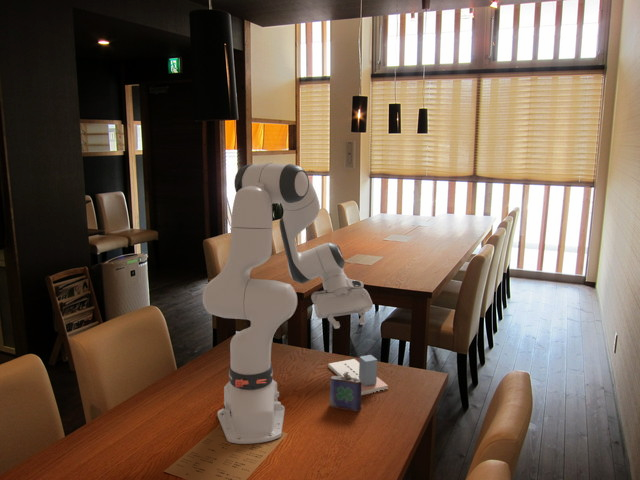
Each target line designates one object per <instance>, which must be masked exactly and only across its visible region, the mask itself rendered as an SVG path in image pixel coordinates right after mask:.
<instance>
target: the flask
mask: <svg viewBox="0 0 640 480" xmlns="http://www.w3.org/2000/svg"><path fill="white" fill-rule="evenodd" d="M348 373H349V372H345V373H344V374H343V375H344V377H342V376H338V375H332V376H331V377H330V379H329V383H330V384H329V385H330V387H329V388H330V389H329V406H330V407H331V408H335V409H340V410H341V409H342V410H348V411H354V412H359V411H361V409H362V395H361V385H362V384H361V380H360V379H357V378H352V377H351V376H350V375H348Z"/></svg>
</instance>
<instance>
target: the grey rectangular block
mask: <svg viewBox="0 0 640 480" xmlns="http://www.w3.org/2000/svg"><path fill="white" fill-rule="evenodd" d="M358 360H359V361H358V362H359V379H360V380H361V383H362V384H363V385H365V386H368V385H372V384H376V381H377V377H378V376H377V375H378V359H377V358H376V357H375V356H373V355H372V354H368V355H361V356H359V359H358Z"/></svg>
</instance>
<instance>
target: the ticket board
mask: <svg viewBox="0 0 640 480" xmlns="http://www.w3.org/2000/svg"><path fill="white" fill-rule="evenodd" d="M327 367H328V368H329V369H330V371H332V372H334V374H335V375H336V376H342V377H344V375H343V374H344V373H345V372H349V373H348V375H350V376H351V377H352V378H357V379H359V361H358V360H357V359H356V358H351V359H346V360H345V359H344V360H342V361H341V360H340V361H334V362H330V363H328V366H327ZM361 384H362V383H361ZM384 389H389V385H388V384H387V383H386V382H384V381H383V380H382V379H381V378H380V377H378V376H377V381H376V384H372V385H368V386H365V385H363V384H362V385H361V396H363V395H368V394H373V392H374V393H377V392H376V391H378V392H381V391H380V390H383V391H385V390H384Z"/></svg>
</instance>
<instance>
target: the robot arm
mask: <svg viewBox="0 0 640 480" xmlns="http://www.w3.org/2000/svg"><path fill="white" fill-rule="evenodd" d="M233 183H234V190H235V192H236V193H235V196H234V199H233V206H232V210H231V211H232V212H231V221H230V241H229V252H228V257H227V260H226V263H225V265H224V267H223V268H222V269H221V271H220V272H219V274H217V275H216V276H215V277H213V279H211V280H210V281H208V283H207V284H206V285H205V287H204V289H203V292H202V304H203V307H204V309H205V310H206V312H207V313H208V314H210V315H213V316H216V317H220V318H223V319H235V320H238V319H239V320H247V321H250V326H249V327H247V328H244V329H242V330H240V331H239V332H237V333H235V334H234V335H233V337H232V338H231V340H230V344H229V345H230V346H229V347H230V348H229V349H230V357H229V358H230V365H229V367H228V380H229V381H228V382H227V383H226V384H225V385H224V387H223V395H224V396H223V408H221V409H219V410H218V411H217V415H216V416H217V418H218V421H219V424H220V426H221V428H222V431H223V433H224V436H225V438H226V440H227V442H229V443H232V444H238V445H239V444H241V445H242V444H243V445H246V444H260V443H266V442H270V441H273V440H274V441H275V440H276V439H280V438H281V436H282V433H283V426H284V418H285V411H286V409H285V406H284V405H283V404H282V402H281V401H278V397H280V391H278V382H277V381H276V380H274V378H273V377H274V376H273V374H274V371H273V370H274V369H273V364H272V361H271V359H272V344H273V338H274V335H275V333H276V331H277V329H278V328H280V326H281V325H282V324H283V323H284V322H286V321H287V320H289V319H290V318H291V317H292V316H293V315H294V314H295V312H296V309H297V306H298V295H297V292H296V290H295V289H294V287H293V286H292V284H290V283H288V282H287V283H286V282H283V281H278V280H275V279H261V278H260V279H259V278H258V279H257V278H256V279H255V278H250V276H251V272H252V270H253V269H254V268H257V267H259V266H261V265H264V264H265V263H266V262H267V261H269V260H270V258H271V256H272V251H273V210H272V209H273V207H272V205H273V204H281V207H282V209H283V215H282V216H281V218H280V219H279V229H280V233H281V235H280V236H281V240H282V243H283V248H284V252H285V255H286V259H287V269H288V273H289V276H290V278H291V280H293V281H294V282H295V283H299V284H303V285H304V284H305V283H308V282H310V281H312V280H314V279H316V278H318V277H320V278H321V279H322V283H321V284H322V287H323V290H320V291H318V290H317V291H314V292H313V293H311V296H310V298H311V302H312V303H313V308H314V313H315V316H316V317H317V319H327V321H328V322H330V323H331V324H332V325H333V329H335V330H336V329H340V327H341V324H340V321H337V320H336V319H335V318H334V317H340V316H347V315H354V314H358V315H359V316H360V318H359V319H358V323H359V325H365V324H366V319H365V317H366V313H369V312H370V311H371V309H372V308H373V305H374V303H373V301H372V299H371V298H372V297H371V296H370V293H369V292H368V290H367V289H365V288H364V285H365V284H364V281H361V280H357V279H356V280H355V279H351V278H349V277H348V276H347V274H346V273H345V270H344V266H345V263H346V261H345V260H344V256H343V254H342V250H341V247H340V246H339V245H337V244H335V243H333V242H330V241H329V242H325V243H322V244H319V245H316V246H315V247H313V248H310V249H307V250H304V251H302V252H298V248H297V244H296V239H297V238H298V236H299V235H300V234H301V233H302V232H303V231H304V230H305V229H306V228H308V227H309V226H311V225H312V223H314V221H315V220H316V219H317V217H318V215H319V212H320V208H321V205H320V201H319V198H318V195H317V192H316V190H315V187H314V186H313V183H312V181H311V180H310V178H309V176H308V174H307V172H306V171H305V169H304V168H303V167H301V166H299V165H297V164H291V163H289V164H282V163H273V162H268V163H267V162H265V163H255V164H254V163H251V164H247V165H246V164H245V165H243V166H241V167H240V168H239V169H238V170H237V172H236V174H235V176H234V182H233Z"/></svg>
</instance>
